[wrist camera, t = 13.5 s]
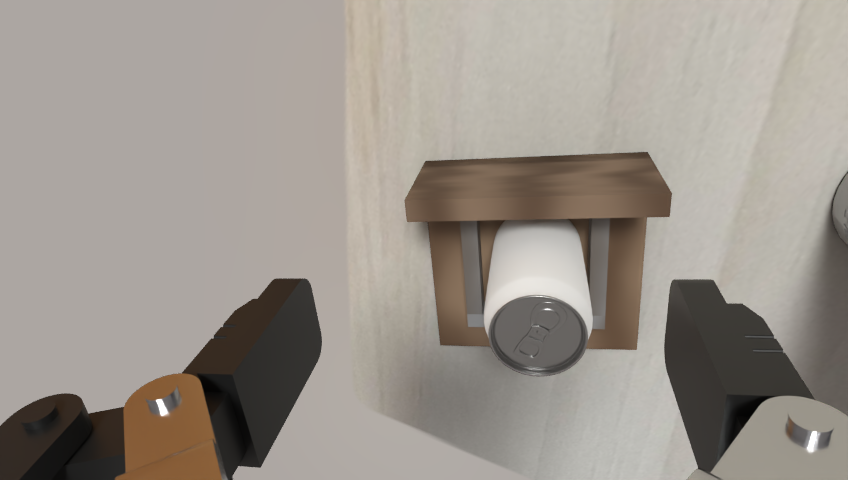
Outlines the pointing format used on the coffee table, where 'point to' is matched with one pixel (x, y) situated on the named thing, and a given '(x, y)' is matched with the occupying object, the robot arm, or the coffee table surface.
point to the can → (538, 297)
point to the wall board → (539, 199)
